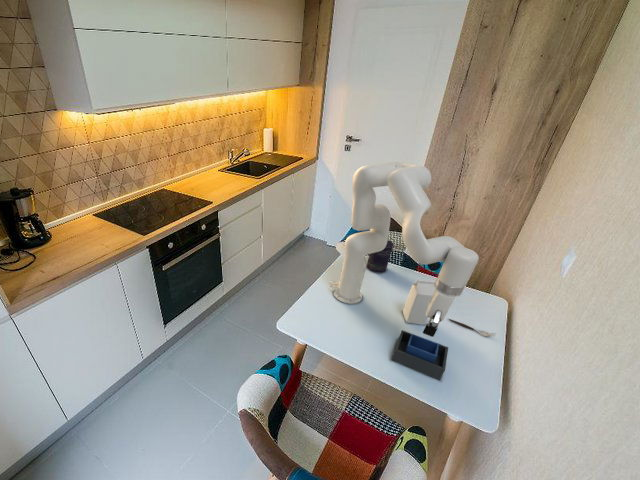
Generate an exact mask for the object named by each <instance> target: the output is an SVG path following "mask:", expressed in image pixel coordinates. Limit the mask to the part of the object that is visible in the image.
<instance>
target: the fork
mask: <svg viewBox="0 0 640 480" xmlns="http://www.w3.org/2000/svg"><path fill="white" fill-rule="evenodd" d="M448 320H449V321H451V322H453V323H454V324H458V325H460V326H462V327H464V328H467V329H469V330H473V331H476V332H477V333H479V335H481V336H482V337H494V336H496V335H497V332H486V331H481V330H478V329H475V328H473V327H471V326H469V325H467V324H465V323H462V322H459V321H456V320H455V319H451V318H448Z"/></svg>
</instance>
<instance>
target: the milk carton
mask: <svg viewBox="0 0 640 480" xmlns="http://www.w3.org/2000/svg"><path fill="white" fill-rule="evenodd" d="M435 282H436V281H429V280H419V279H418V280H417V282H414V283H412V285H411V288H410V290H409V293H408V296H407V298H406V301H405V304H404V307H403V309H402V313H403V317H404V320H405V323H407V324H413V325H414V324H415V325H421V326H426V324H427V322H428V321H427V320H428V318H429V317H426V312H427V308H428V304H429V302H430V300H431V298H432V296H433V294H434V291H435V287H434V284H435Z"/></svg>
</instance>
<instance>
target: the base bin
mask: <svg viewBox="0 0 640 480" xmlns="http://www.w3.org/2000/svg"><path fill="white" fill-rule="evenodd" d="M411 334H412V332H409V331H405V330H400V333H399V336H398V338H397V342H396V345H395V348H394V350H393V354H392V356H391V359H390V361H392V362H394V363H397V364H399V365H401V366H404V367H406V368H409V369H411V370H414V371H416V372H418V373H421V374H423V375H426V376H428V377H431V378H433V379H435V380H438V381H440V380H441V378H442V377H443V375H444V374H445V371H446V366H447V360H448V355H449V353H448V352H449V347H448V346H446V345H443V344H441V343H438V344H439V348H438V353H437V357H436V359H435V361H434V363H430V362H428V361H425V360H423V359H420V358H418V357H415V356H413V355H410V354H408V353H405V349H406V346H407V344H408V341H409V339H410V336H411Z"/></svg>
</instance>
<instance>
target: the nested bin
mask: <svg viewBox="0 0 640 480" xmlns="http://www.w3.org/2000/svg"><path fill="white" fill-rule="evenodd" d="M439 344H440V343H439V342H436V341H433V340H430V339H428V338H425V337H423V336H420V335H417V334H414V333H411V336H410V339H409V341H408V344H407V346H406V349H405V353H408V354H410V355H413V356H415V357H418V358H420V359H423V360H425V361H428V362H430V363H434V361H435V359H436V357H437V353H438V348H439Z"/></svg>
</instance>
